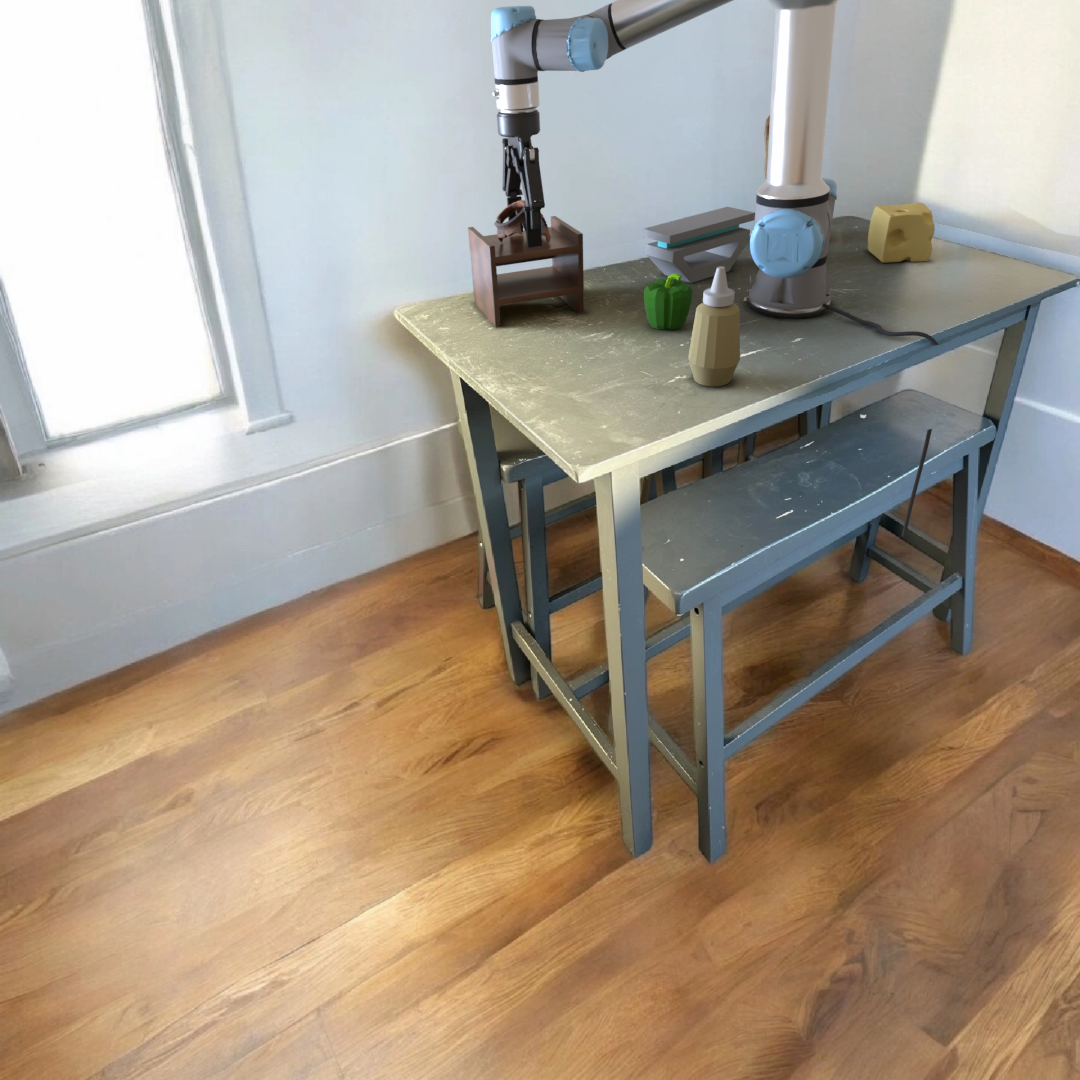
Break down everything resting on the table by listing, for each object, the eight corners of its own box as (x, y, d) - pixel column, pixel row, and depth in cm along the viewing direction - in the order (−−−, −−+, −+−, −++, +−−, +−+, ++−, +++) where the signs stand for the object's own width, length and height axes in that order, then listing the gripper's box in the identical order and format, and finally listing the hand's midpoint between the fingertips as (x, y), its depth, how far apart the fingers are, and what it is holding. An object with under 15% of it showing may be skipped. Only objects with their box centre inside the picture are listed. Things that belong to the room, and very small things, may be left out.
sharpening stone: (723, 257, 192) (727, 206, 186) (750, 264, 186) (755, 212, 180) (641, 281, 180) (642, 228, 174) (667, 290, 174) (670, 235, 168)
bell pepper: (635, 323, 160) (636, 269, 154) (673, 315, 162) (676, 262, 156) (658, 337, 153) (660, 282, 148) (697, 329, 156) (700, 274, 150)
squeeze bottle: (726, 394, 132) (736, 278, 122) (678, 384, 136) (684, 271, 126) (745, 375, 138) (756, 263, 128) (698, 366, 142) (706, 257, 131)
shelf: (584, 312, 166) (582, 233, 157) (495, 327, 161) (489, 246, 153) (557, 290, 177) (555, 215, 169) (474, 303, 173) (467, 227, 165)
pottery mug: (553, 249, 157) (530, 212, 152) (510, 271, 161) (486, 236, 156) (556, 216, 165) (534, 180, 160) (515, 238, 169) (492, 203, 164)
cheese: (929, 261, 182) (940, 213, 177) (879, 264, 183) (887, 215, 177) (912, 248, 191) (922, 201, 185) (864, 250, 191) (872, 203, 186)
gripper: (479, 104, 157) (489, 228, 170) (517, 120, 139) (525, 257, 152) (518, 100, 159) (525, 223, 172) (560, 115, 141) (564, 251, 154)
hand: (525, 239), depth 162 cm, fingers closed on pottery mug, 10 cm apart
